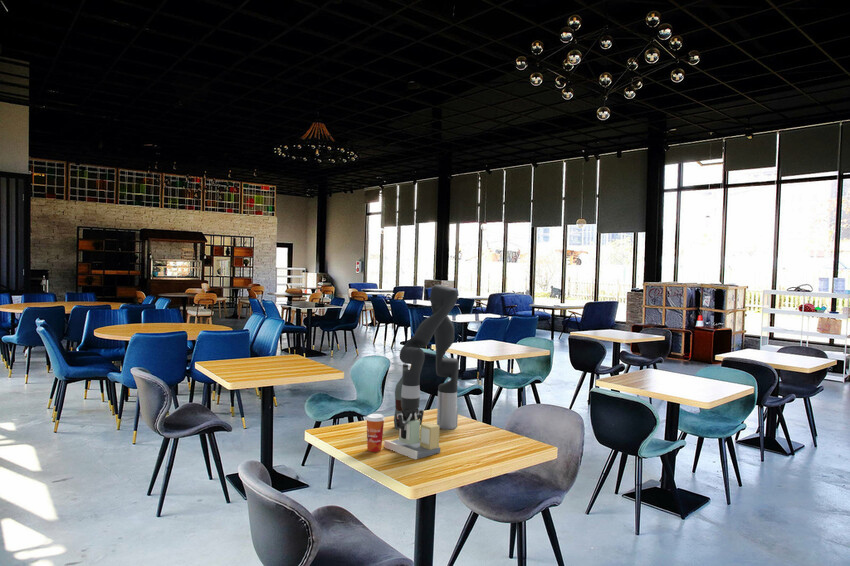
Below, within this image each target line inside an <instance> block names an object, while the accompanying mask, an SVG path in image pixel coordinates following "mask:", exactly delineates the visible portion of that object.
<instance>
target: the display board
mask: <svg viewBox="0 0 850 566" xmlns="http://www.w3.org/2000/svg"><path fill="white" fill-rule="evenodd" d="M384 447H385V449H387V450H389V449H390V450H389V451H392V450H393V451H392V452H394V451H395V452H394V453H396V454H400V455H402V456H405V457H407V456H408V458H411V459H412V460H418V459H422V458H425V457H429V456H432V455H437V454H441V447H440V446H439V448H435V449H432V450H429V449H426V448H423V447H420V439H419V443H417V444H413V445H409V444H406V443H403V442H400V441H399V438H398V439H394V440H388V439H384V443H383V448H384ZM436 453H437V454H436Z"/></svg>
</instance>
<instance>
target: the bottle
mask: <svg viewBox="0 0 850 566" xmlns="http://www.w3.org/2000/svg"><path fill="white" fill-rule="evenodd" d="M405 370H409V364H407V363H404V364H402V375H401V377H400V379H399V381H398V382H397V383H396V386H395V389H394V397H395V399H394V401H395V404H394V405H395V408H394V409H395V410H394V416H393V424H394V425H393V426H394V429H395V430H397V431H399V428H397V423H396V414H400V413H401V411H402V407H401V393H402V383H403V372H404V371H405ZM402 417H403V416H402Z"/></svg>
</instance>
